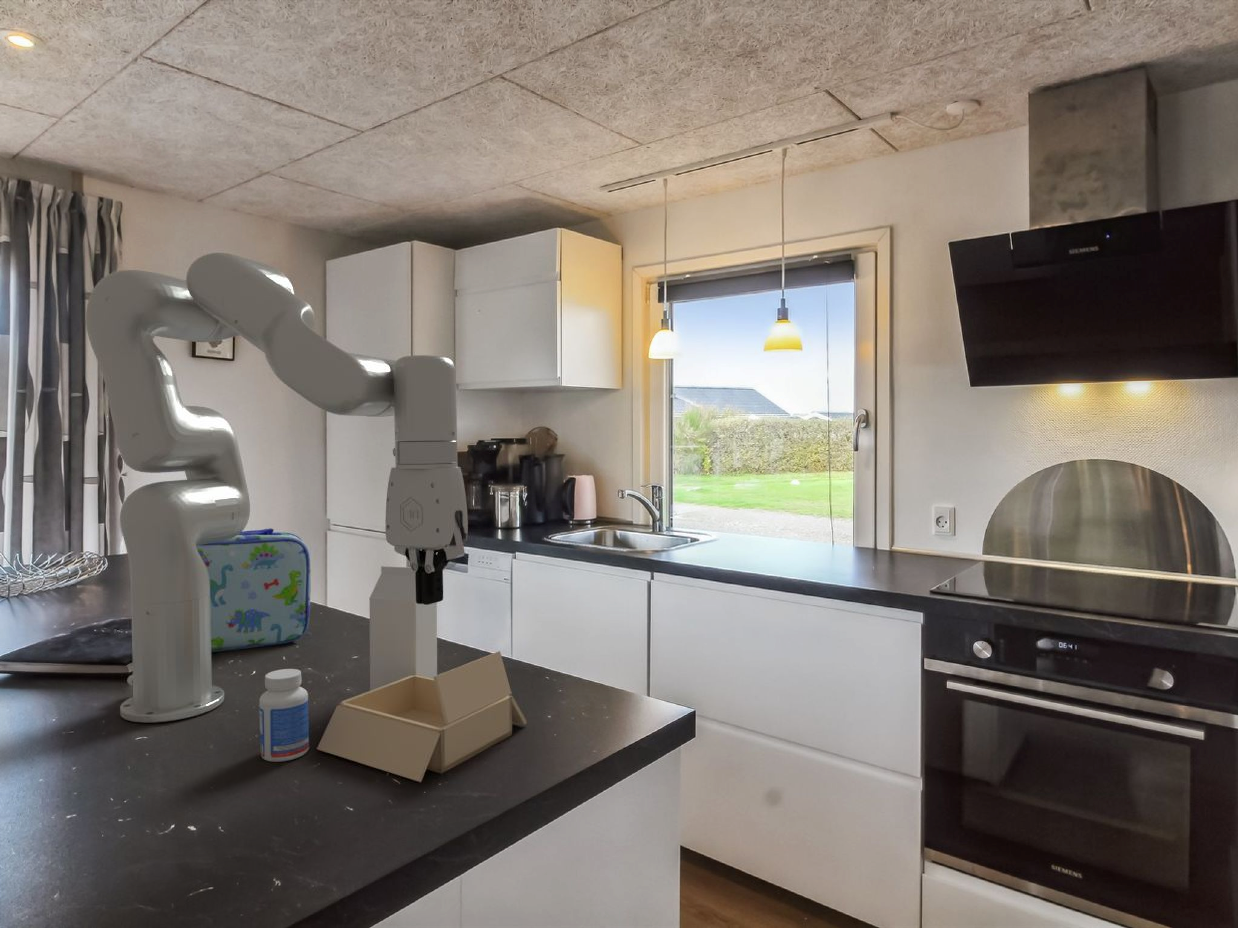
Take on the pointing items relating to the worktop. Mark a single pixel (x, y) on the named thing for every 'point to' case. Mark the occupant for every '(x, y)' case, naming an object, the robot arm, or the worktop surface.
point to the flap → (472, 686)
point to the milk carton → (400, 629)
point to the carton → (414, 729)
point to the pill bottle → (283, 717)
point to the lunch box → (257, 589)
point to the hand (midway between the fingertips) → (429, 601)
